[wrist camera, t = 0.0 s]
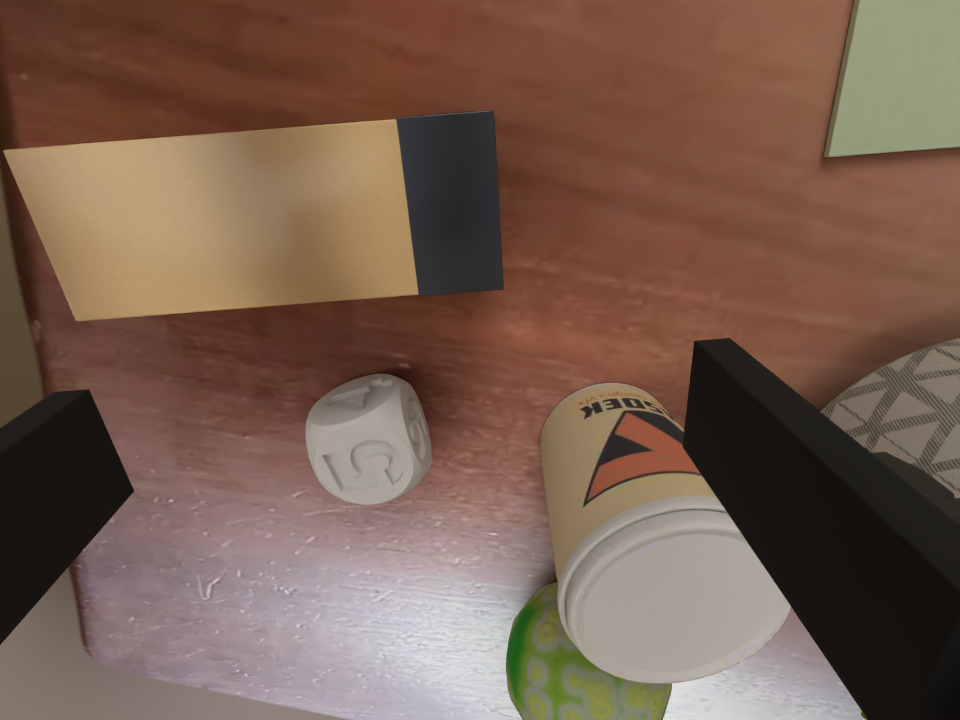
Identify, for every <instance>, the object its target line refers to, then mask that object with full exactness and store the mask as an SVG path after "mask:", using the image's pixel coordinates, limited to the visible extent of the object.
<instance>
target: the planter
mask: <svg viewBox="0 0 960 720" xmlns="http://www.w3.org/2000/svg"><path fill="white" fill-rule="evenodd" d="M820 412H821V413H822V414H824V415H825V416H826V417H827V418H829V419H830V420H831V421H832V422H833V423H835V424H836V425H837V426H838V427H840V428H841V429H842V430H843V431H845V432H846V433H847V434H848V435H849V436H851V437H852V438H853V439H854V440H856V441H857V442H858V443H859V444H861V445H862V446H863V447H864V448H865V449H867V450H868V451H869V452H870V453H876V452H887V453H889V454H891V455H893V456H895V457H897V458H899V459H901V460H903V461H905V462H907V463H909V464H912V465H914V466H916V467H918V468H920V469H922V470H924V471H925V472H926V473H928V474H929V475H930V476H932V477H933V478H934V479H936V480H937V481H938V482H940V483H941V484H942V485H944V486H945V487H946V488H947V489H949V490H950V491H951V492H953V493H954V497H955V498H960V338H956V339H952V340H947V341H943V342H940V343H937V344H933V345H930V346H927V347H924V348H921V349H919V350H916V351H914V352H911V353H909V354H906V355H904V356H901V357H899V358H897V359H895V360H893V361H891V362H889V363H887V364H885V365H883V366H881V367H880V368H878V369H876V370H874V371H873V372H871V373H869V374H867V375H866V376H864V377H863V378H861V379H860V380H858V381H857V382H855V383H854V384H852V385H851V386H849V387H848V388H847V389H845V390H844V391H843V392H841V393H840V394H839V395H838V396H836V397H835V398H834V399H833V400H831V401H830V402H829V403H828V404H827V405H826V406H825V407H824V408H822V409H821V410H820Z"/></svg>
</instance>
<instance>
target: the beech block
mask: <svg viewBox="0 0 960 720" xmlns="http://www.w3.org/2000/svg"><path fill="white" fill-rule="evenodd" d="M3 152H4V154H5V157H6V159H7V161H8V164H9V166H10V168H11V171H12V173H13V175H14V178H15V180H16V182H17V185H18V187H19V189H20V192H21V194H22V196H23V199H24V201H25V203H26V206H27V208H28V210H29V213H30V215H31V217H32V220H33V222H34V224H35V227H36V229H37V231H38V234H39V236H40V238H41V241H42V243H43V245H44V248H45V250H46V252H47V255H48V257H49V259H50V262H51V264H52V266H53V269H54V271H55V273H56V276H57V278H58V280H59V283H60V285H61V287H62V290H63V292H64V294H65V297H66V299H67V301H68V304H69V306H70V308H71V311H72V313H73V315H74V318H75V320H76V321H89V320H101V319H114V318H127V317H140V316H152V315H165V314H178V313H191V312H203V311H216V310H229V309H242V308H254V307H267V306H280V305H293V304H305V303H318V302H331V301H344V300H356V299H369V298H382V297H395V296H407V295H419V296H429V295H442V294H455V293H467V292H480V291H493V290H503V289H504V286H503V268H502V249H501V230H500V212H499V193H498V174H497V156H496V137H495V118H494V110H484V111H471V112H459V113H446V114H433V115H420V116H408V117H397V118H396V119H391V120H379V121H366V122H353V123H340V124H327V125H315V126H302V127H289V128H276V129H264V130H251V131H238V132H225V133H213V134H200V135H187V136H174V137H162V138H149V139H136V140H123V141H110V142H98V143H85V144H72V145H59V146H47V147H34V148H21V149H8V150H4V151H3Z"/></svg>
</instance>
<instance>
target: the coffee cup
mask: <svg viewBox="0 0 960 720" xmlns="http://www.w3.org/2000/svg"><path fill="white" fill-rule="evenodd" d="M683 437H684V429H683V428H682V427H681V426H680V425H679V424H678V423H677V421H676V420H675V419H674V418H673V417H672V416H671V415H670V414H669V413H668V412H667V410H666V409H665V408H664V407H663V406H662V405H661V404H660V403H659V402H658V401H657V400H656V399H655V398H654V397H652V396H651V395H650V394H648V393H647V392H645V391H643V390H641V389H639V388H637V387H634V386H631V385H627V384H621V383H601V384H596V385H591V386H588V387H585V388H582V389H580V390H578V391H576V392H574V393H573V394H571V395H569V396H567V397H566V398H565V399H564V400H562V401H561V402H560V403H559V404H558V405H557V406H556V407H555V408H554V409H553V411H552V412H551V414H550V415H549V417H548V418H547V420H546V422H545V425H544V427H543V430H542V434H541V441H540V452H541V462H542V471H543V479H544V487H545V495H546V502H547V510H548V518H549V525H550V533H551V540H552V548H553V555H554V562H555V570H556V576H557V582H558V590H557V601H558V611H559V615H560V619H561V622H562V625H563V627H564V629H565V632H566V633H567V635H568V636H569V638H570V639H571V641H572V642H573V643H574V644H575V645H576V646H577V648H578V649H579V651H580V652H581V653H582V654H583V655H584V656H585V657H586V658H587V659H588V660H589V661H590V662H591V663H593V664H594V665H595V666H597V667H598V668H599V669H601V670H603V671H605V672H607V673H610V674H612V675H614V676H616V677H620V678H623V679H627V680H631V681H636V682H643V683H677V682H684V681H691V680H695V679H699V678H703V677H706V676H710V675H713V674H716V673H718V672H721V671H723V670H726V669H728V668H730V667H733V666H735V665H736V664H738V663H740V662H742V661H743V660H745V659H747V658H748V657H750V656H751V655H753V654H754V653H756V652H757V651H758V650H759V649H761V648H762V647H763V646H764V645H765V644H766V643H768V642H769V641H770V640H771V638H772V637H773V636H774V635H775V634H776V633H777V632H778V630H779V629H780V628H781V626H782V625H783V623H784V622H785V620H786V618H787V616H788V614H789V612H790V609H791V606H790V604H789V603H788V601H787V600H786V598H785V597H784V595H783V594H782V593H781V591H780V590H779V588H778V587H777V585H776V584H775V582H774V581H773V579H772V578H771V576H770V575H769V573H768V572H767V570H766V569H765V568H764V566H763V565H762V563H761V562H760V560H759V559H758V557H757V556H756V554H755V553H754V551H753V550H752V548H751V547H750V545H749V544H748V543H747V541H746V540H745V538H744V537H743V535H742V534H741V532H740V531H739V529H738V528H737V526H736V525H735V523H734V522H733V521H732V519H731V518H730V516H729V515H728V513H727V512H726V510H725V509H724V507H723V506H722V504H721V503H720V501H719V500H718V498H717V497H716V496H715V494H714V493H713V491H712V490H711V488H710V487H709V485H708V484H707V482H706V481H705V479H704V478H703V476H702V475H701V473H700V472H699V471H698V469H697V468H696V466H695V465H694V463H693V462H692V460H691V459H690V457H689V456H688V454H687V453H686V451H685V450H684V449H683V447H682V446H683Z"/></svg>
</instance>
